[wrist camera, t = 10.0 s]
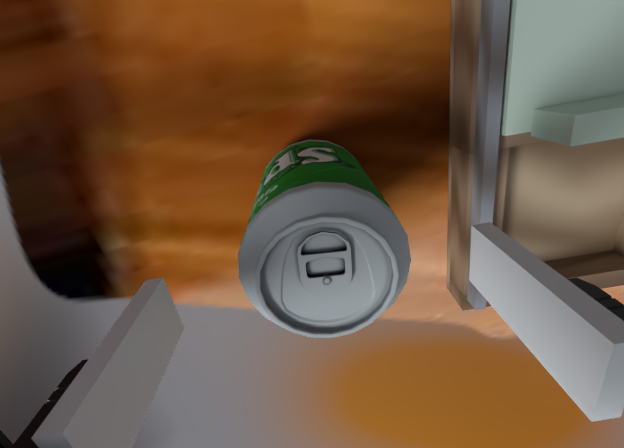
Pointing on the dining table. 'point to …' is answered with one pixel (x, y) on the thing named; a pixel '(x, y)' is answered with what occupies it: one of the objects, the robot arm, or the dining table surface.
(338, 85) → the dining table surface
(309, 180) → the soda can
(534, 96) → the lid
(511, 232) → the wooden tray box
